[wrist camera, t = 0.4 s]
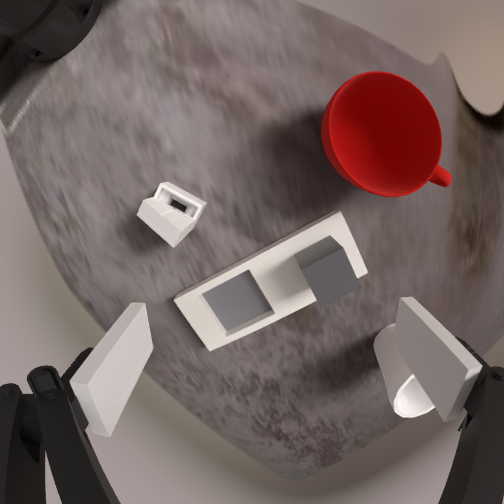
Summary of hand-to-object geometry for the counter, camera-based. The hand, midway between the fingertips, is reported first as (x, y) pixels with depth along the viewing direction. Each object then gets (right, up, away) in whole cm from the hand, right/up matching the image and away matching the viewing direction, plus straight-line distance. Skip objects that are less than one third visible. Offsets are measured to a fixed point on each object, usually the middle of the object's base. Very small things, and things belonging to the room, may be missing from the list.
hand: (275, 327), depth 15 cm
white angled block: (-10, +10, +23) cm, 27 cm away
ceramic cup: (+14, +17, +21) cm, 30 cm away
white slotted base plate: (+1, 0, +25) cm, 25 cm away
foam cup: (+21, -10, +28) cm, 36 cm away
